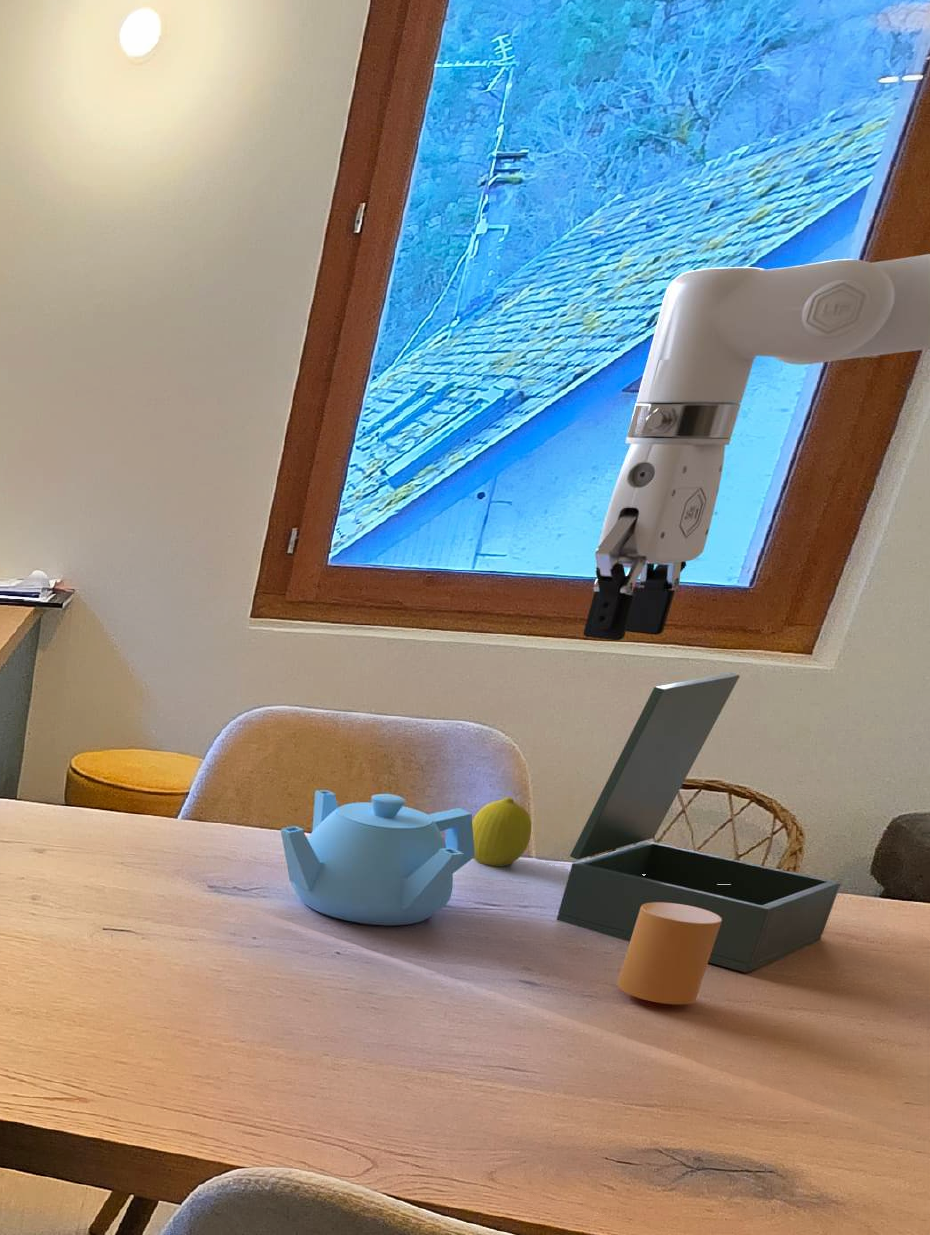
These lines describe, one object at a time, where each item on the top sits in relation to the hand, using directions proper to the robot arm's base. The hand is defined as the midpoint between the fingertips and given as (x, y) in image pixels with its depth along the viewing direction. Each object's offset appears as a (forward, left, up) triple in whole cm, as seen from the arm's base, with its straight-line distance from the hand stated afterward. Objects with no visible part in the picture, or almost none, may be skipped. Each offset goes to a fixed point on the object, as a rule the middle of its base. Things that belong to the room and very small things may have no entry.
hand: (623, 633), depth 131 cm
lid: (-6, 0, -11) cm, 13 cm away
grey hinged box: (-12, 0, -26) cm, 28 cm away
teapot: (+8, +19, -26) cm, 33 cm away
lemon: (+8, -4, -26) cm, 27 cm away
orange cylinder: (-18, +19, -26) cm, 37 cm away
